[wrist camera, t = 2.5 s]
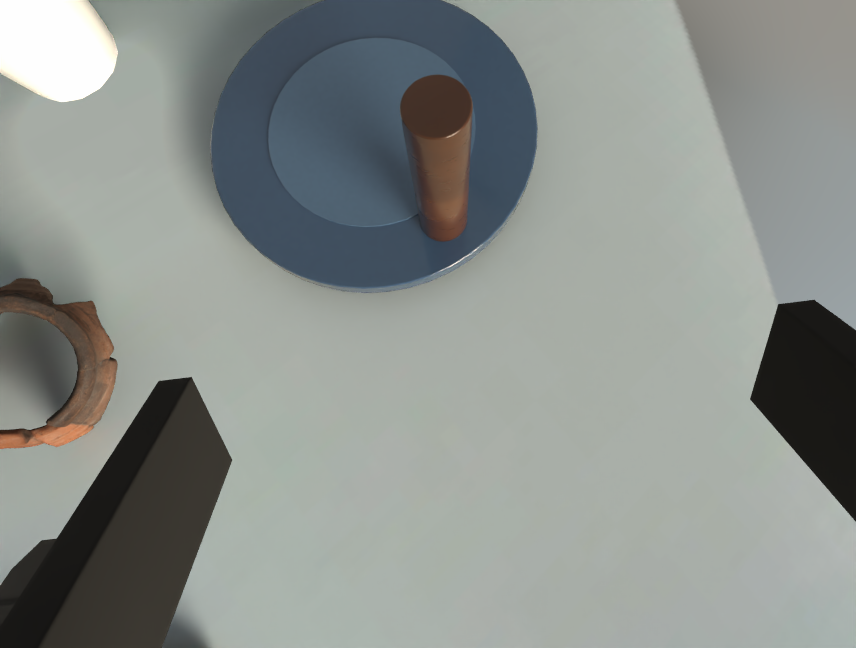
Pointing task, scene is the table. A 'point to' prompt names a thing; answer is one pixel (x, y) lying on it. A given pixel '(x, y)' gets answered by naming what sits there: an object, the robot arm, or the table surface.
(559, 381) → the table surface
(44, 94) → the foam cup
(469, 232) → the blue disc with rod
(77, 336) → the broken brown clay pot
